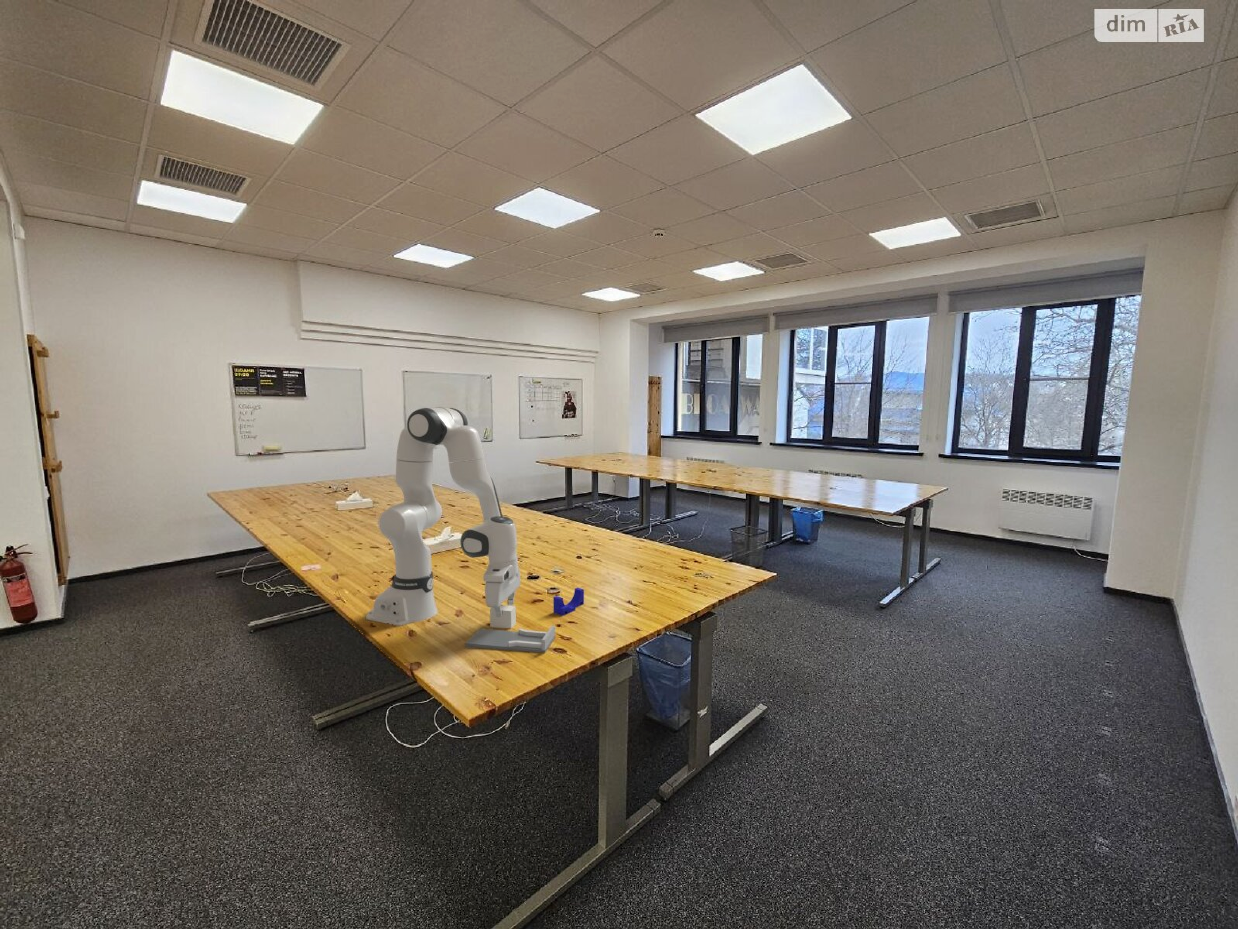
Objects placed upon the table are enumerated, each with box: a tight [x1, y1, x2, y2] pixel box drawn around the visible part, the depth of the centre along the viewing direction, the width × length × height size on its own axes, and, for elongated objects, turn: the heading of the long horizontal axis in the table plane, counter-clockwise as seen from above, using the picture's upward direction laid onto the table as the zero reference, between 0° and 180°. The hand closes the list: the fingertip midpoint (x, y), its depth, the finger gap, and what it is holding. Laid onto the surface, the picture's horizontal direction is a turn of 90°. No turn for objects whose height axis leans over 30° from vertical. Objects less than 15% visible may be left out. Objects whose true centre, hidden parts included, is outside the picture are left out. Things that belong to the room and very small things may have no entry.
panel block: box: [489, 604, 517, 629], centre depth 160 cm, size 7×4×6 cm, turn 81°
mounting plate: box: [464, 625, 556, 654], centre depth 148 cm, size 24×10×4 cm, turn 81°
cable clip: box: [552, 587, 585, 617], centre depth 173 cm, size 12×4×6 cm, turn 142°
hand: (505, 610), depth 160 cm, fingers open, 8 cm apart
